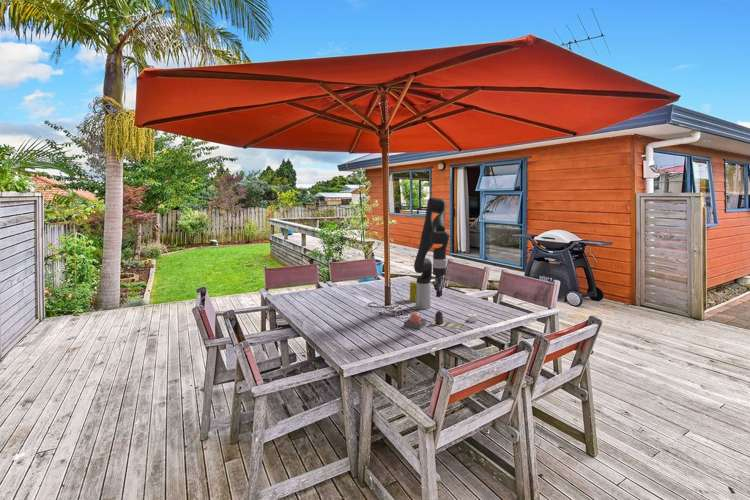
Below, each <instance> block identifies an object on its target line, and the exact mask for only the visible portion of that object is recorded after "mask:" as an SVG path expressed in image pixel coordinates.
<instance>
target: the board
mask: <svg viewBox="0 0 750 500" xmlns="http://www.w3.org/2000/svg"><path fill="white" fill-rule="evenodd" d="M428 325H429V326H433V327H441V328H446V329H447V328H448V329H451V330H452V329H454V330H460V329H462V328H463V327H464V326H465V324H463V323H457V322H450V321H444V320H443V324H441V325H438V324H435V319H434V320H433V321H432V322H430V323H429V324H428Z"/></svg>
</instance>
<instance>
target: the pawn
mask: <svg viewBox="0 0 750 500" xmlns="http://www.w3.org/2000/svg"><path fill="white" fill-rule="evenodd" d="M434 316H435V317H434V320H435V324H438V325H441V324H443V321H444V314H443V312H442V311H441V310H437V311H436V313H435V315H434Z"/></svg>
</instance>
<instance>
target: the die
mask: <svg viewBox="0 0 750 500" xmlns="http://www.w3.org/2000/svg"><path fill="white" fill-rule="evenodd" d="M468 322H471V323H477V322H478V316H477V314H476V313H468Z"/></svg>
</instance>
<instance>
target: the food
mask: <svg viewBox="0 0 750 500" xmlns="http://www.w3.org/2000/svg"><path fill="white" fill-rule="evenodd" d="M416 293H417V280H411V281H410V283H409V301H410V302H415V303H416Z"/></svg>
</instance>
